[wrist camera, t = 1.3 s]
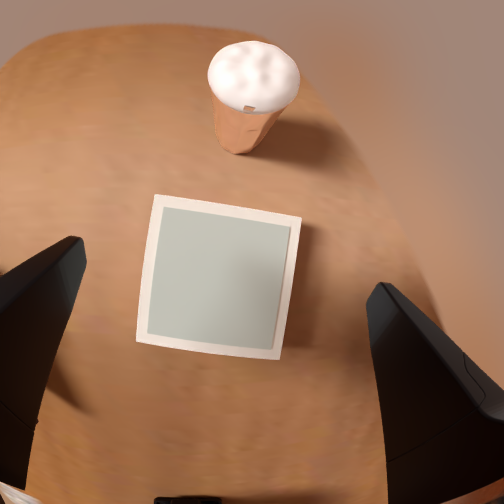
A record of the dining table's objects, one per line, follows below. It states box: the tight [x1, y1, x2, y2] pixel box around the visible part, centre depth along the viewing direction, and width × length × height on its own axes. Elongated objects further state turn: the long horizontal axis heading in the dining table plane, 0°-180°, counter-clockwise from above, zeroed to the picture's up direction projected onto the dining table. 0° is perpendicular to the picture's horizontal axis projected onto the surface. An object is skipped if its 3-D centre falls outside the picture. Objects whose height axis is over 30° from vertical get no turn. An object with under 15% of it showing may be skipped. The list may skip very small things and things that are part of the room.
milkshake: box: [208, 41, 300, 154], centre depth 16 cm, size 5×5×10 cm
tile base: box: [136, 194, 302, 360], centre depth 19 cm, size 9×9×3 cm
